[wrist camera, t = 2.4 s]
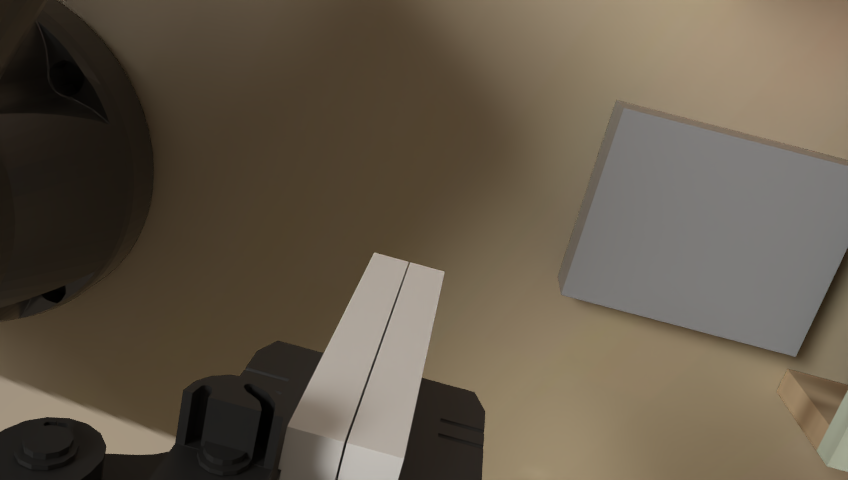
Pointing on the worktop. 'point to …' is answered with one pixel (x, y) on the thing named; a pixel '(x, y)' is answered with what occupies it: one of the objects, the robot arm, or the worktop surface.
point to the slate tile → (708, 229)
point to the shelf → (819, 414)
